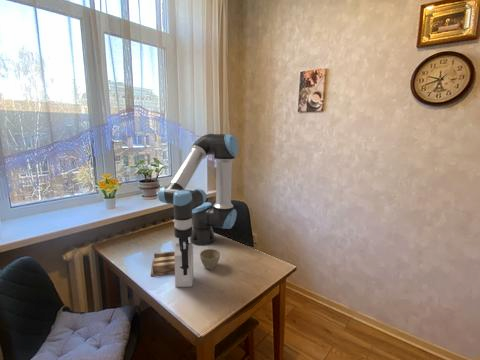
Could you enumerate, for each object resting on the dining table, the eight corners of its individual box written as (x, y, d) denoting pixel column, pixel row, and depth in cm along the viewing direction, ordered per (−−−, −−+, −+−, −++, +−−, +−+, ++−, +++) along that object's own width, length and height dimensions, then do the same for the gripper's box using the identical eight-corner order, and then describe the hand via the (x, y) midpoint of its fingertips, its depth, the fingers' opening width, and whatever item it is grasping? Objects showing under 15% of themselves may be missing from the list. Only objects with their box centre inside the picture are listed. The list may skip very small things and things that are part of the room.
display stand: (184, 257, 132) (184, 249, 131) (185, 271, 119) (185, 263, 118) (152, 260, 128) (152, 252, 127) (150, 276, 115) (150, 267, 114)
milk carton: (177, 277, 114) (176, 239, 111) (193, 277, 115) (192, 239, 111) (175, 287, 108) (173, 247, 104) (191, 286, 108) (191, 246, 104)
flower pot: (203, 274, 118) (203, 260, 116) (197, 263, 126) (197, 251, 125) (223, 269, 122) (223, 256, 121) (215, 259, 131) (215, 247, 129)
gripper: (173, 217, 116) (175, 258, 121) (174, 240, 93) (176, 290, 98) (190, 216, 118) (190, 257, 123) (194, 238, 95) (195, 287, 100)
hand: (184, 271), depth 110 cm, fingers open, 12 cm apart
